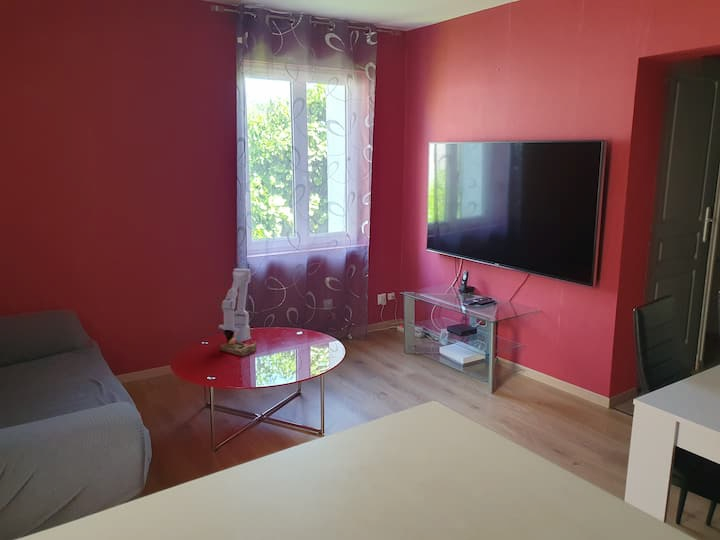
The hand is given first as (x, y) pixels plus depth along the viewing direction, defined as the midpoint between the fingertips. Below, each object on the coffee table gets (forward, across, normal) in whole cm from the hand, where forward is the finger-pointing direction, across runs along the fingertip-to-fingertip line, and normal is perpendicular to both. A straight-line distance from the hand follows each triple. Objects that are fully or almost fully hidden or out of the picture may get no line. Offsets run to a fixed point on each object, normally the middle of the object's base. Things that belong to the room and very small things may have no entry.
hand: (229, 342), depth 330 cm
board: (+4, +7, 0) cm, 8 cm away
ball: (0, +2, 0) cm, 2 cm away
